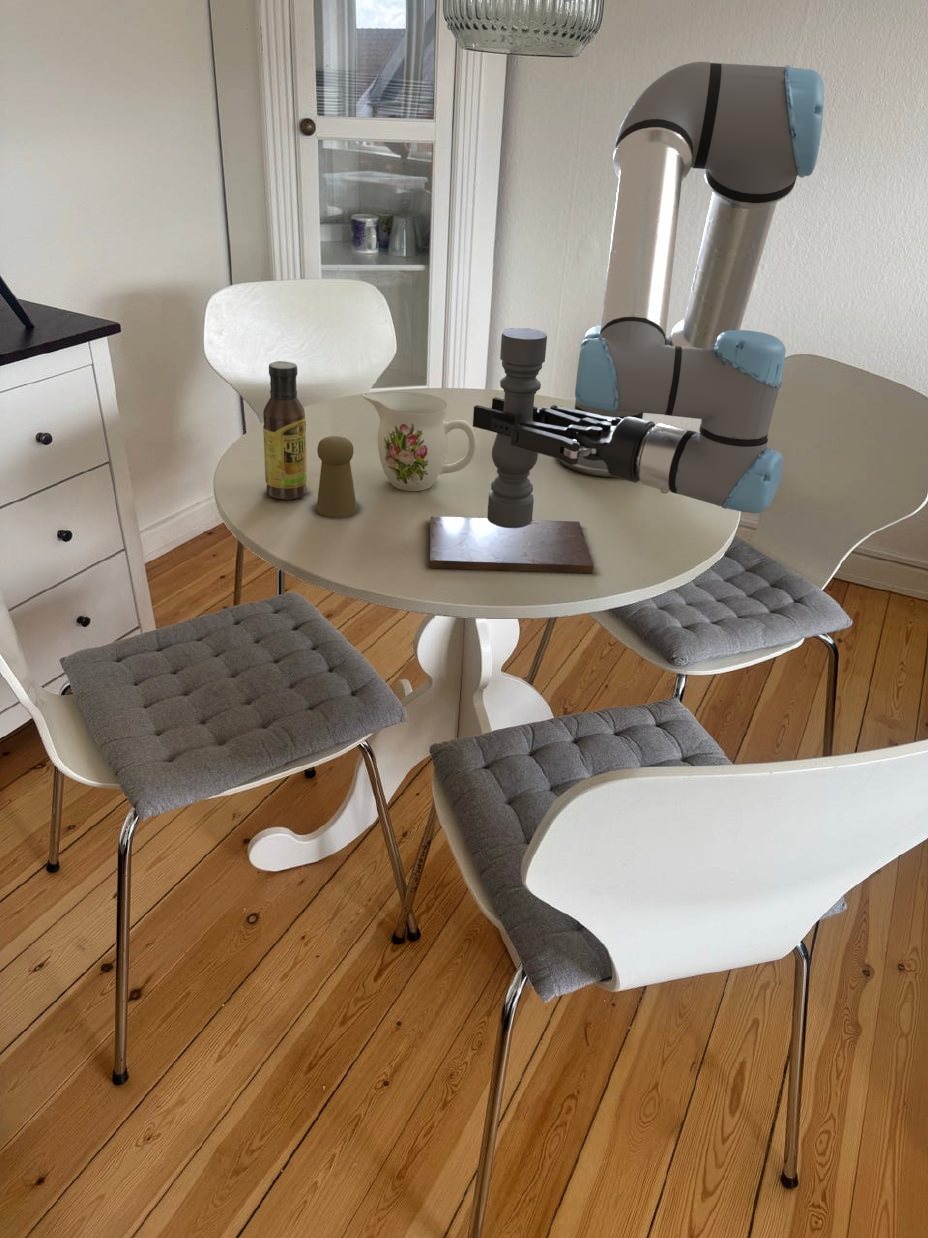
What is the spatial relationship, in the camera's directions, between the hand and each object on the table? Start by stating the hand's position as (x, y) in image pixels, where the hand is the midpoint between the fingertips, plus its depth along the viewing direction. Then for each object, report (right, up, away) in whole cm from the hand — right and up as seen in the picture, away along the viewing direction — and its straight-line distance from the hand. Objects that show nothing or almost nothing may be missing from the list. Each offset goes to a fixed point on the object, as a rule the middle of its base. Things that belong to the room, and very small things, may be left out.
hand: (484, 411), depth 121 cm
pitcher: (-10, -6, +26) cm, 29 cm away
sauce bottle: (-30, -8, +20) cm, 37 cm away
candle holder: (+3, -14, +5) cm, 15 cm away
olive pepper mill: (-22, -11, +16) cm, 29 cm away
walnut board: (+3, -17, +8) cm, 19 cm away
